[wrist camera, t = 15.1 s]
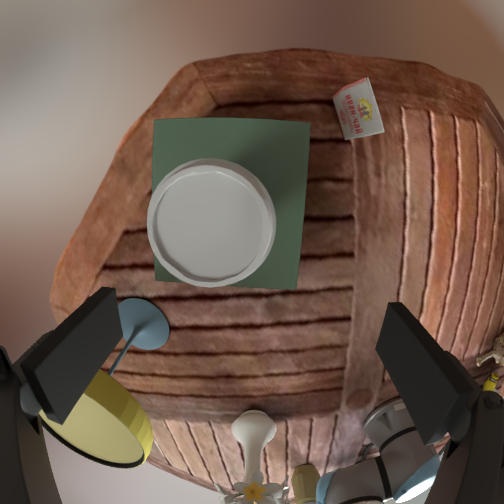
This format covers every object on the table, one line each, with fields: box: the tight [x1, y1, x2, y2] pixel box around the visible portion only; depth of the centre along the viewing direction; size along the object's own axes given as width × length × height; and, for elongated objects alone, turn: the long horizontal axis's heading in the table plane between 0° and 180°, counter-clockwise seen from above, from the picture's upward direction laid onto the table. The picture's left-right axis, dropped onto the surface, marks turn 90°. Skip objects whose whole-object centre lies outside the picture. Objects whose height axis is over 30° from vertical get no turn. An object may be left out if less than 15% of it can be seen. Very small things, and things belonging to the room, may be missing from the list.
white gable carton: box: [332, 77, 385, 140], centre depth 31 cm, size 4×7×10 cm, turn 16°
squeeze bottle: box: [291, 465, 320, 504], centre depth 53 cm, size 8×8×18 cm
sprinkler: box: [482, 373, 501, 393], centre depth 51 cm, size 19×8×20 cm
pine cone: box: [476, 332, 504, 367], centre depth 43 cm, size 22×10×10 cm, turn 101°
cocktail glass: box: [38, 298, 169, 469], centre depth 35 cm, size 18×18×25 cm
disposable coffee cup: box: [147, 158, 276, 288], centre depth 25 cm, size 10×10×12 cm
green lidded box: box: [152, 117, 310, 290], centre depth 35 cm, size 19×17×10 cm
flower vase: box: [214, 410, 292, 504], centre depth 42 cm, size 13×18×25 cm
